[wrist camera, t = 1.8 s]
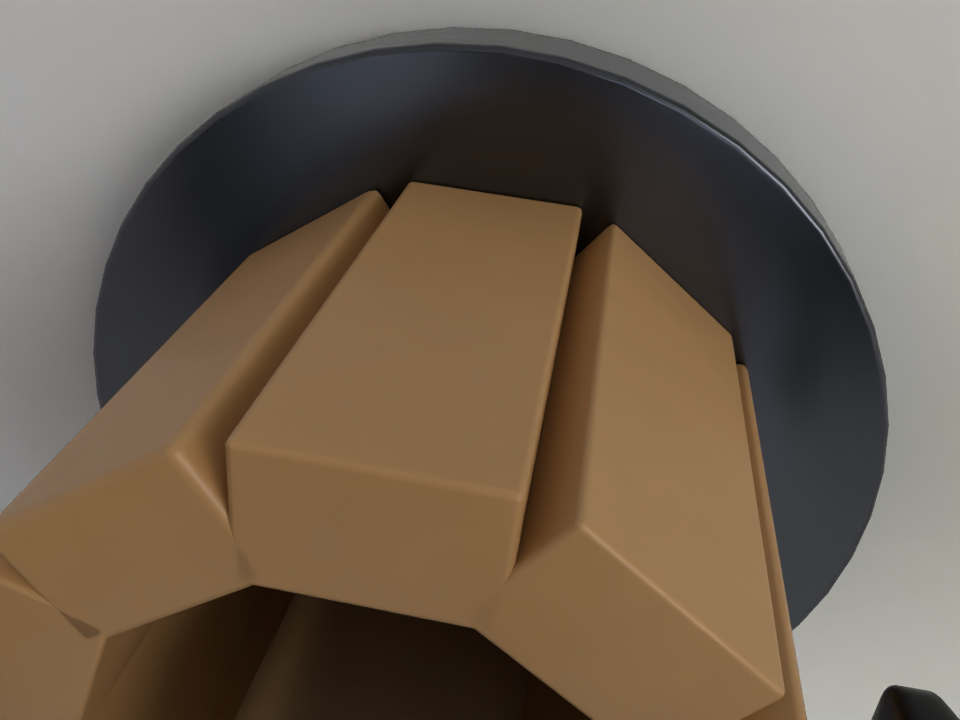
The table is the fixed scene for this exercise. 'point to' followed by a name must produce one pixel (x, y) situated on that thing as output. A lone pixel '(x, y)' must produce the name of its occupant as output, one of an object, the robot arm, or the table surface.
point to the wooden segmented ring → (415, 479)
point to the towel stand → (603, 201)
